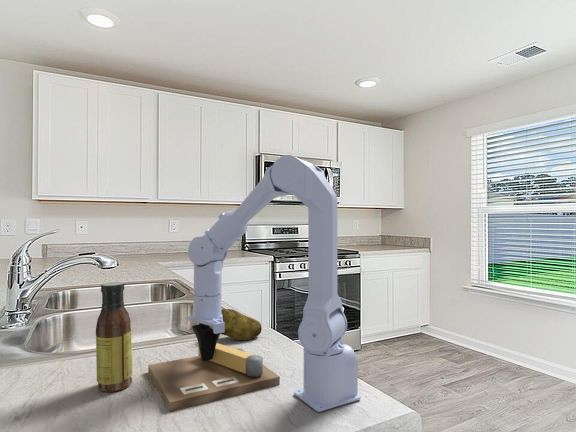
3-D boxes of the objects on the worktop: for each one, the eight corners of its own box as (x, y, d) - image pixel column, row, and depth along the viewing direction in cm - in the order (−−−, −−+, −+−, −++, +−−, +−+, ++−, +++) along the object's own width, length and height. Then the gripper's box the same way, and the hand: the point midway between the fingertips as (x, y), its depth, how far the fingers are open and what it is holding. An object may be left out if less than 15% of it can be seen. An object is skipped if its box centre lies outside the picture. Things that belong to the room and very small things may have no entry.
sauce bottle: (122, 377, 77) (123, 279, 77) (138, 385, 73) (139, 282, 73) (89, 387, 72) (90, 283, 72) (104, 397, 68) (105, 286, 68)
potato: (256, 344, 97) (256, 313, 98) (208, 342, 99) (209, 311, 99) (263, 335, 106) (263, 306, 106) (219, 333, 107) (219, 304, 108)
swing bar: (266, 372, 74) (266, 357, 74) (254, 378, 72) (254, 362, 72) (208, 353, 86) (208, 339, 86) (197, 356, 83) (197, 343, 83)
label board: (240, 354, 90) (240, 347, 90) (279, 384, 74) (279, 376, 74) (148, 372, 79) (148, 364, 79) (169, 411, 63) (169, 401, 63)
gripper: (179, 290, 83) (178, 352, 83) (199, 302, 71) (199, 375, 71) (210, 287, 87) (209, 347, 87) (234, 298, 74) (234, 368, 74)
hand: (207, 359), depth 79 cm, fingers closed
